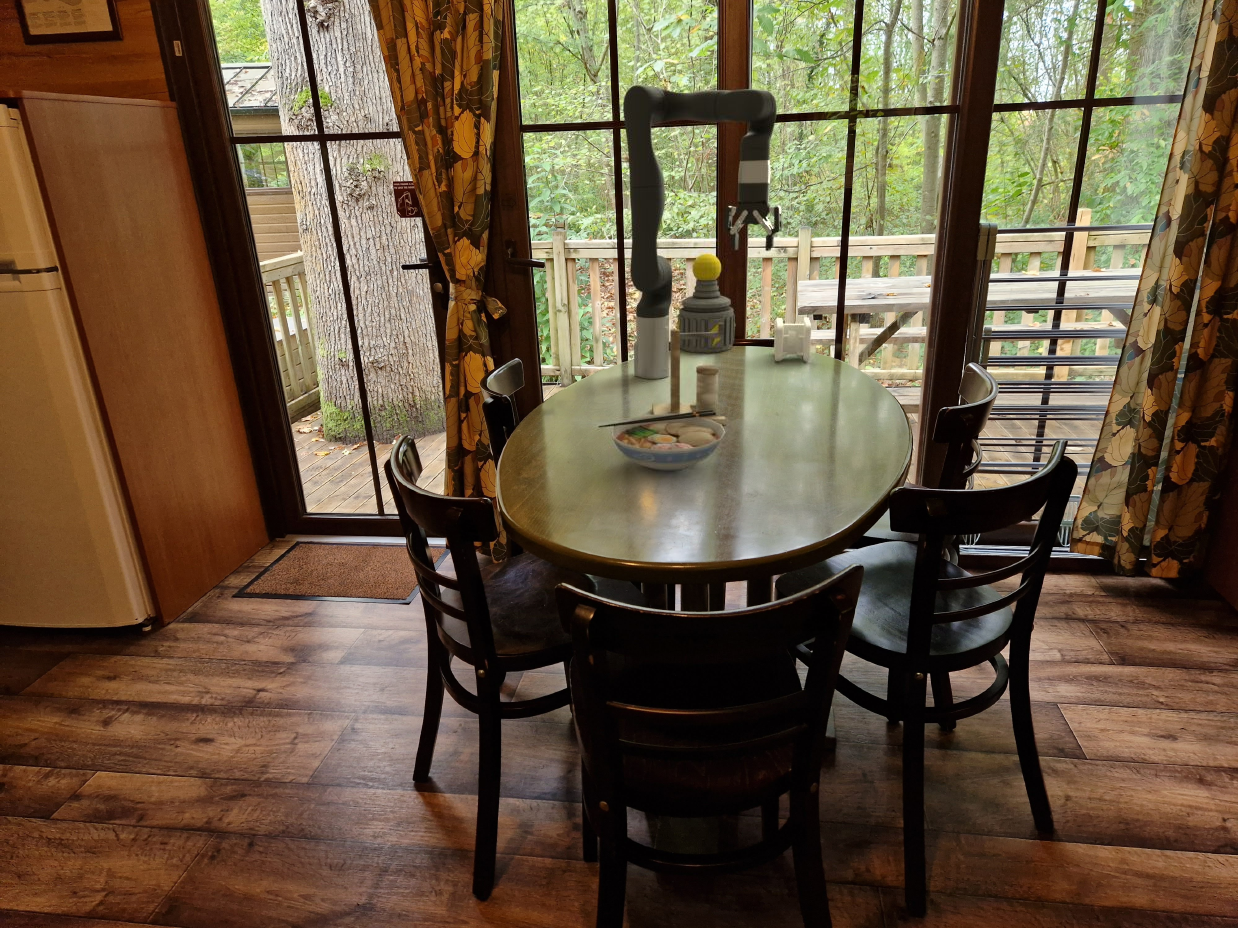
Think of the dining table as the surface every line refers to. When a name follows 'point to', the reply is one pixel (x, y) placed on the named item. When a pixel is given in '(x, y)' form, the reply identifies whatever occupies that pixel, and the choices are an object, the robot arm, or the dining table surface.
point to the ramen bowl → (668, 439)
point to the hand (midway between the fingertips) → (751, 250)
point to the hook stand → (675, 375)
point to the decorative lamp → (706, 310)
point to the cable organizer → (792, 339)
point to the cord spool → (707, 388)
